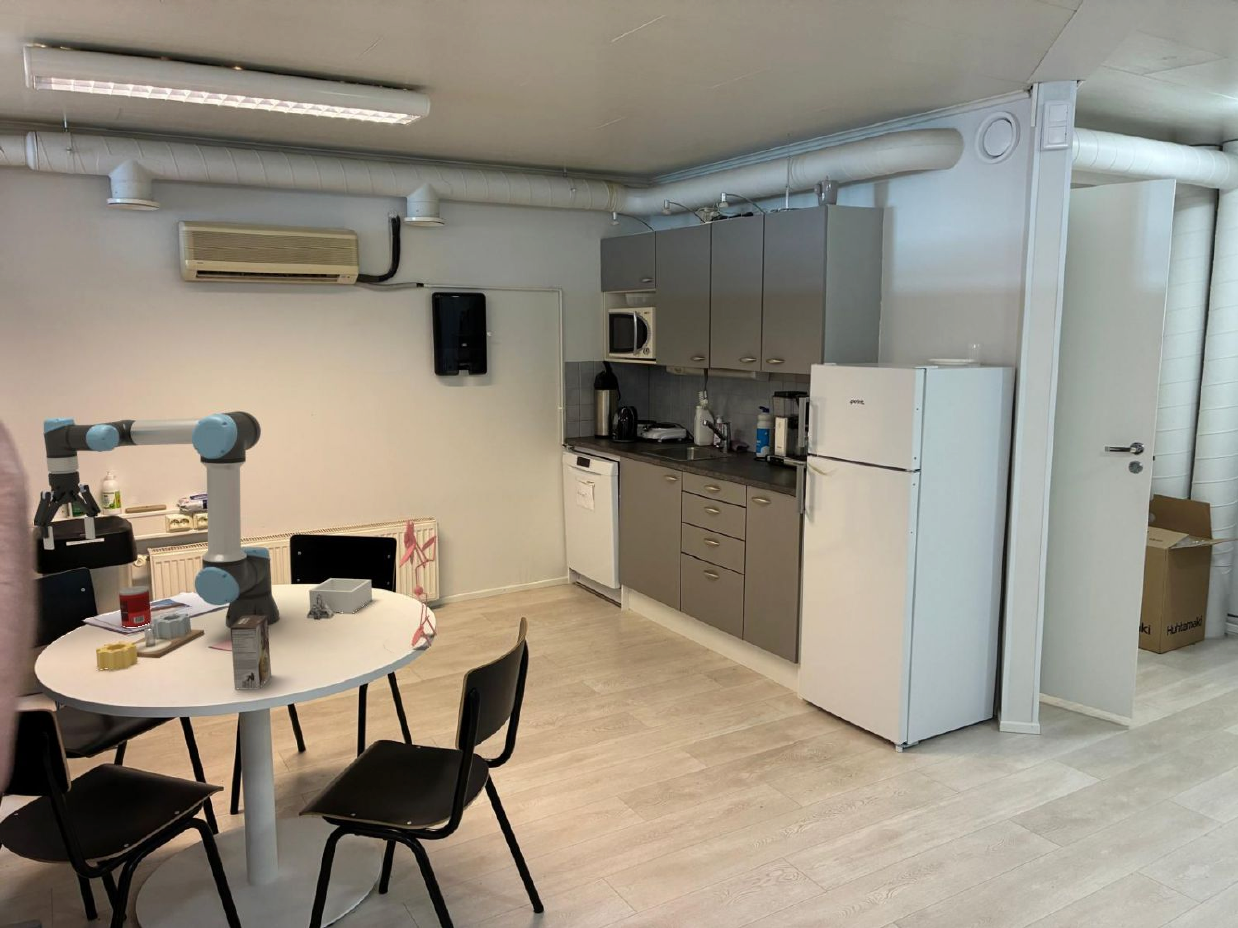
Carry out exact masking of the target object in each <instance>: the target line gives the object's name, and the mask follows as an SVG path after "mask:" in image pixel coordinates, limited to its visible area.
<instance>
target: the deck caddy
mask: <svg viewBox="0 0 1238 928" xmlns="http://www.w3.org/2000/svg"><path fill="white" fill-rule="evenodd" d="M308 592H309V593H308V594H309V611H310V610H311V609H312V607H313V605H314V604H315V603H317V602H316V598H317V596H318V594H319V593H320V594H321V595H322V597H323V598H322V601H323V604H327V606H328V607H329V608H330V609H331V611H332V612H334V614H337V613H336V612H339V613H338V614H345V613H353V612H355V611H356V610H358V609H359V610H361V609H362V608H363V607H362V606H363V605H365V606H366V605H368V604H369V603H371V602H372V601H373V591H372V579H359V578H357V579H356V578H355V579H354V578H332V577H330V578H328V579H327V580H325V581H324V582H321V583H319V584H318V585H316V586H314V587H313V588H311V589H309V590H308ZM318 598H320V596H318ZM370 601H371V602H370ZM368 602H369V603H368ZM318 603H321V599H318ZM367 603H368V604H367ZM317 606H319V605H317ZM322 606H323V607H324V605H322ZM314 607H315V606H314ZM361 607H362V608H361ZM319 608H321V607H320V606H319ZM324 608H326V607H324ZM360 608H361V609H360ZM359 610H358V611H359ZM341 612H343V613H341ZM356 612H357V611H356ZM356 612H355V613H356ZM353 614H354V613H353Z"/></svg>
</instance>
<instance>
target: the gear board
mask: <svg viewBox="0 0 1238 928" xmlns="http://www.w3.org/2000/svg"><path fill="white" fill-rule="evenodd" d="M204 635H205V629H191V633H190V634H186V635H185V637H182V638H180V637H177V638H172V639H171V640H167V639H157V638H156V636H155V644H156V645H155V646H153V647H146V643H145V636H144V637H142V638H140V639H139V640H136V641H134V642H135V645H136V649H137V658H146V659H147V658H150V659H161V658H162V657H164V656H166V655H168V654H170V653H172V652H173V651H175V650H177V649H180V648H182V647H183V646H184V645H186V644H188V643H191V642H192V641H194V640H196V639H198V638H200V637H201V636H204Z"/></svg>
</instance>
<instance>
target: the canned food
mask: <svg viewBox="0 0 1238 928" xmlns="http://www.w3.org/2000/svg"><path fill="white" fill-rule="evenodd" d="M118 598H119V599H118V600H119V610H120V611H119V612H120V619H121V621H120V622H121V625H122V626H121V627H123V626H125V627H138V626H142V625H145V624H148V623H150V622H152V613H151V601H150V589H149V587H148V586H145V585H137V586H136V585H135V586H129V587H124V588H122V589H120V590H119V591H118ZM150 624H151V623H150Z"/></svg>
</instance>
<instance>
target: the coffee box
mask: <svg viewBox="0 0 1238 928" xmlns="http://www.w3.org/2000/svg"><path fill="white" fill-rule="evenodd" d="M269 637H270V636H269V625H268V621H267V615H266V616H258V615H250V616H242V617H241V618H240V619H239V620H238V621H237V622H236V623H235V624H234V625H233V626H231V628H230V639H231V654H232V667H233V683H234V686H233V687H234V690H238V689H237V688H248V689H247V690H250V689H249V688H260V689H261V688H262V687H263V686H264V685H265V684H264V682H265V681H266V680H267V679H268V680H269V678H270V677H271V676H272V666H271V665H272V664H271V654H270V653H271V652H270V651H271V649H270V639H269ZM270 675H271V676H270ZM269 676H270V677H269ZM268 677H269V678H268ZM268 680H267V681H268ZM267 681H266V682H267ZM266 682H265V683H266ZM263 684H264V685H263ZM261 686H262V687H261Z"/></svg>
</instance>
